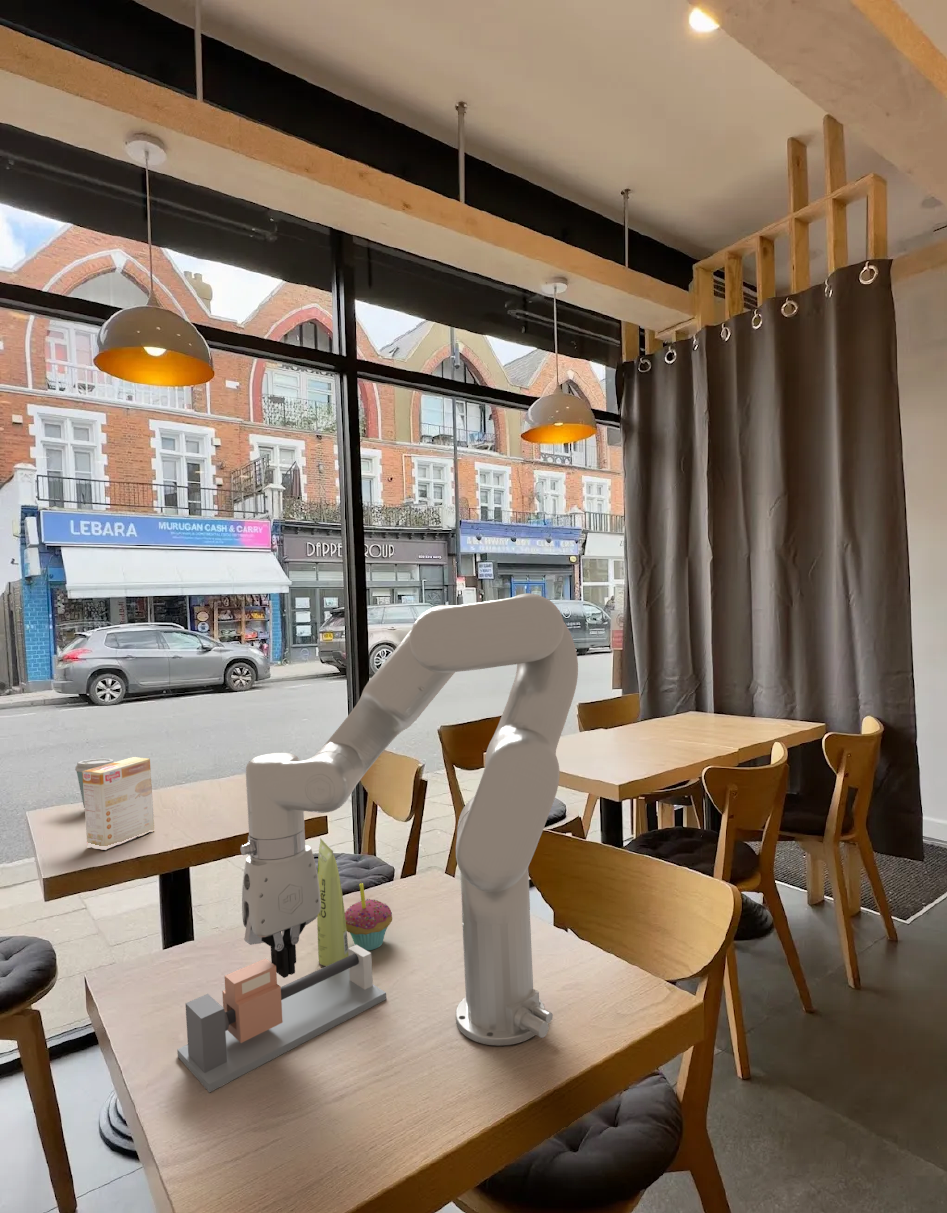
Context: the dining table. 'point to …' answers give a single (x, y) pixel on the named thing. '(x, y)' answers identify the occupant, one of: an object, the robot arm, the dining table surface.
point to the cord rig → (304, 1016)
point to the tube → (330, 910)
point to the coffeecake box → (118, 801)
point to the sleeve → (253, 999)
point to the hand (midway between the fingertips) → (284, 972)
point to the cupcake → (368, 922)
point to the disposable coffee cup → (86, 766)
